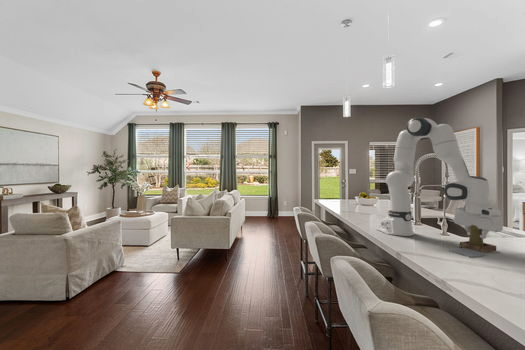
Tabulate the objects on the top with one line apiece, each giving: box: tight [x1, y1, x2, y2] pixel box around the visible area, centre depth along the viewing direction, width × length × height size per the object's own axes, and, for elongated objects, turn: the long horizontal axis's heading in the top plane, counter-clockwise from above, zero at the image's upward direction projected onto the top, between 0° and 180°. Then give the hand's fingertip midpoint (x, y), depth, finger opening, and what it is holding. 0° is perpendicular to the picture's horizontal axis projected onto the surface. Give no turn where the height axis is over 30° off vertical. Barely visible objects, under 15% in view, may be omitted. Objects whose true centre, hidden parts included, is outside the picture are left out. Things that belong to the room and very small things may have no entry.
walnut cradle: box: [459, 240, 497, 254], centre depth 126 cm, size 10×10×2 cm
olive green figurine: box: [468, 225, 484, 247], centre depth 126 cm, size 6×6×11 cm
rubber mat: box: [448, 247, 488, 258], centre depth 120 cm, size 10×10×1 cm
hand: (476, 236), depth 126 cm, fingers closed on olive green figurine, 4 cm apart
